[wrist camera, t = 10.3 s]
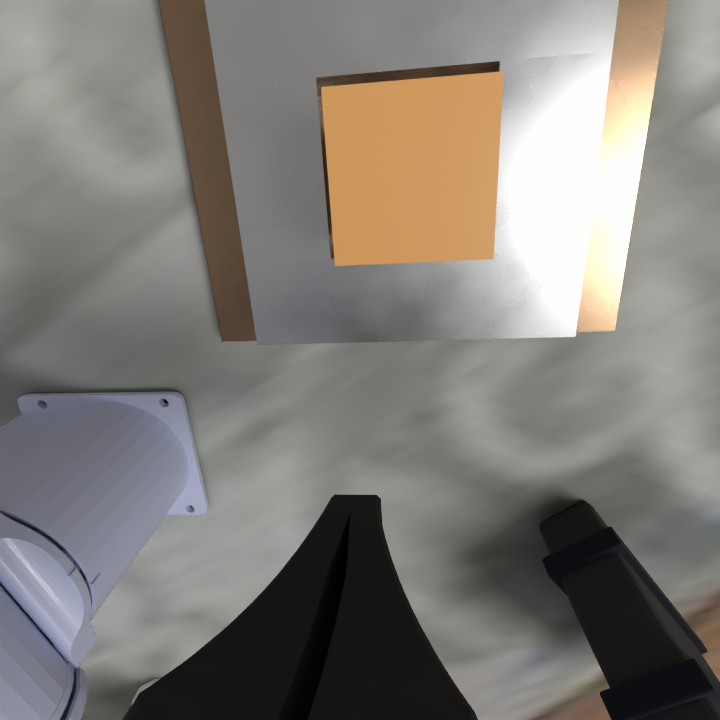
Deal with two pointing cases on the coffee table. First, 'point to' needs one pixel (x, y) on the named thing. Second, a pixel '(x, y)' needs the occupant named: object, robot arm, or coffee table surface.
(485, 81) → the orange rectangular block
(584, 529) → the black ridged slab
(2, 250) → the coffee table surface
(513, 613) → the coffee table surface
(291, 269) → the socket
